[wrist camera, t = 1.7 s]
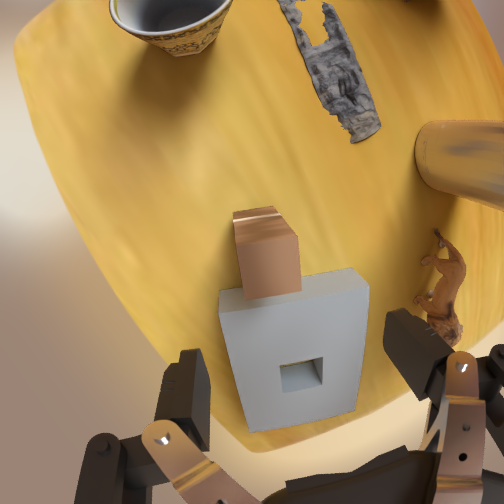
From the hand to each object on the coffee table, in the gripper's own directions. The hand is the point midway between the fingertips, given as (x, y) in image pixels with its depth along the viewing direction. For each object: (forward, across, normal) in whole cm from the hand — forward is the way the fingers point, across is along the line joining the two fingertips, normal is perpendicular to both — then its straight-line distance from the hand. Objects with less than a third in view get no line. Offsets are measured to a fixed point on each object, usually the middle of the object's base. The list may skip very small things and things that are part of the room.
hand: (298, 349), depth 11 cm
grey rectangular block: (+20, -3, +18) cm, 27 cm away
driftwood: (+21, -11, -18) cm, 30 cm away
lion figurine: (+20, -24, +11) cm, 34 cm away
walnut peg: (+20, 0, 0) cm, 20 cm away
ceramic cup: (+20, +4, -24) cm, 32 cm away
